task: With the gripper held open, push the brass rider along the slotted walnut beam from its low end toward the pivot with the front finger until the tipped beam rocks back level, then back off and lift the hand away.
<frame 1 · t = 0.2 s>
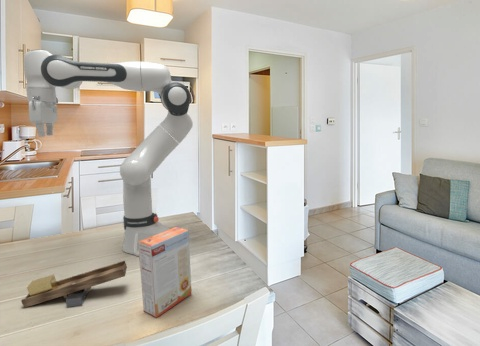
hand: (46, 136, 112), 47 cm above the table, tool pointing down, fingers open, 8 cm apart
cracker box: (168, 303, 89), on the table
beam: (78, 286, 92), point 3 cm above the table, tilted 12°, touching fulcrum, rider
fulcrum: (79, 295, 92), on the table
rider: (45, 292, 90), point 2 cm above the table, tilted 12°, touching beam
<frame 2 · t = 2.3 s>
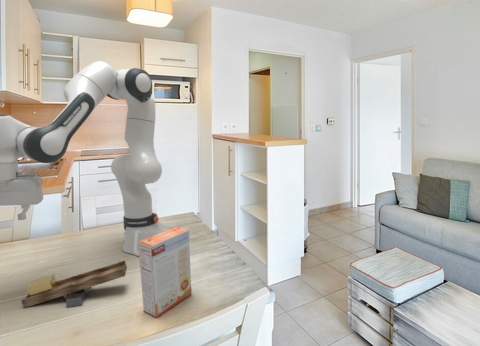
hand: (3, 220, 87), 24 cm above the table, tool pointing down, fingers open, 8 cm apart
nothing on the table moved.
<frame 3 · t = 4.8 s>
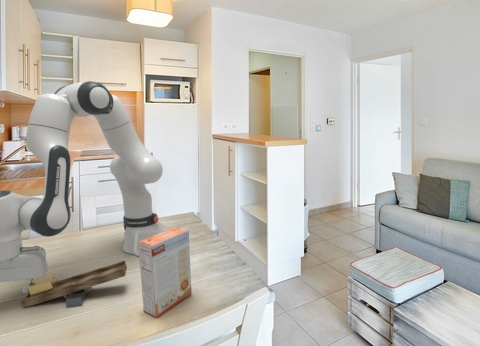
hand: (9, 294, 87), 3 cm above the table, tool pointing down, fingers open, 7 cm apart
beam: (78, 286, 92), point 3 cm above the table, tilted 12°, touching fulcrum
rider: (45, 292, 90), point 2 cm above the table, tilted 11°, touching gripper
everything else where it was.
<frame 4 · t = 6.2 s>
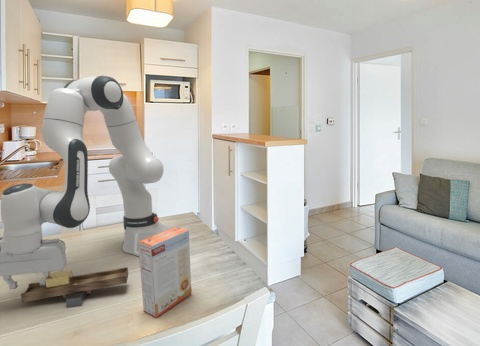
hand: (29, 286, 88), 5 cm above the table, tool pointing down, fingers open, 6 cm apart
beam: (79, 287, 92), point 3 cm above the table, touching fulcrum, rider
rider: (61, 286, 91), point 4 cm above the table, touching beam, gripper
everything else where it was.
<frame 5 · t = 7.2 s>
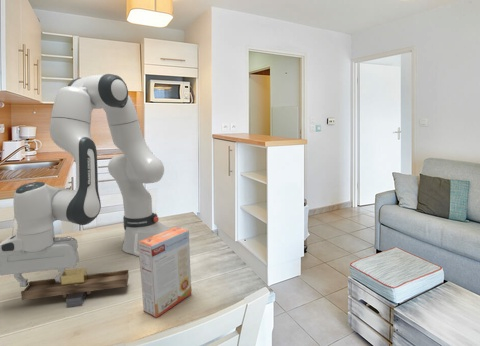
hand: (42, 283, 89), 5 cm above the table, tool pointing down, fingers open, 8 cm apart
rider: (75, 284, 91), point 4 cm above the table, touching beam, gripper
everything else where it was.
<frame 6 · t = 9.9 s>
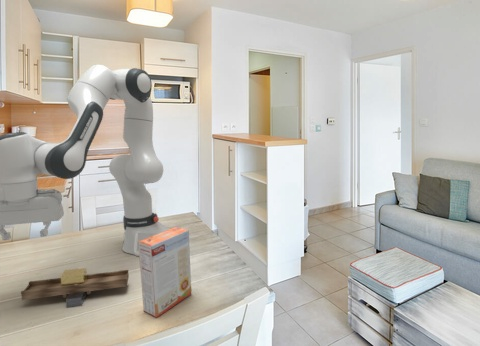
hand: (25, 237, 87), 19 cm above the table, tool pointing down, fingers open, 8 cm apart
rider: (75, 284, 91), point 4 cm above the table, touching beam
everything else where it was.
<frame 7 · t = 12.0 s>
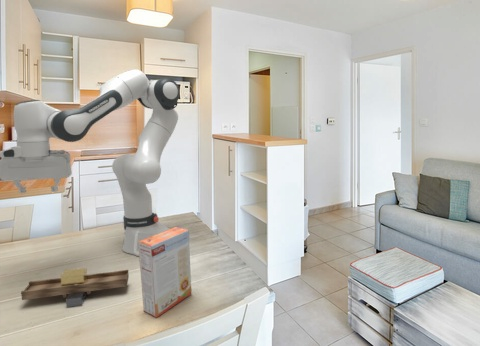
hand: (38, 192, 101), 29 cm above the table, tool pointing down, fingers open, 8 cm apart
nothing on the table moved.
at the end: beam tilted 0°; rider 1.0 cm from the beam (horizontally); rider touching beam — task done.
